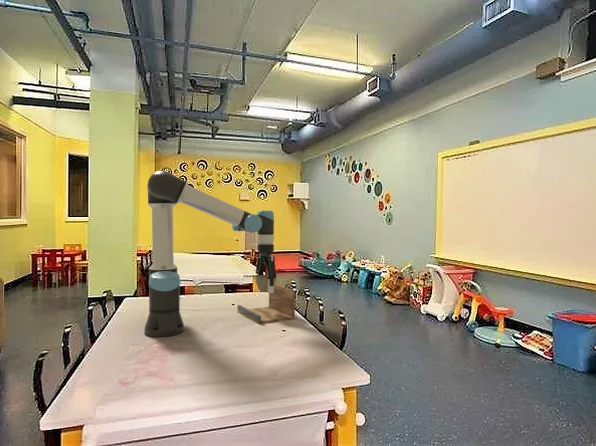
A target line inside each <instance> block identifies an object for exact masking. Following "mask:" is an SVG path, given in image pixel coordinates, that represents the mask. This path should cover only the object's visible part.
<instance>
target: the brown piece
mask: <svg viewBox="0 0 596 446" xmlns="http://www.w3.org/2000/svg"><path fill="white" fill-rule="evenodd" d="M295 299H296V290H294V289H291V288H288V287H285V286H282V285H278V284H277V283H275V285H274V293H268V306H264V307H256V308H255V307H254V308H246V307H245V306H243V305H241V304H238V305H237V313H238V314H239V313H240V314H239V315H241V314H242V316H244V317H245V318H247V319H249V320H250V321H252V322H254V323H256V324H257V325H261V324H269V323H275V322H276V323H277V322H283V321H290V320H295V317H296V316H295V315H296V313H295V312H296V311H295V308H296V307H295V306H296V304H295V303H296V302H295V301H296V300H295Z"/></svg>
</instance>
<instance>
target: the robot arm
mask: <svg viewBox="0 0 596 446" xmlns="http://www.w3.org/2000/svg"><path fill="white" fill-rule="evenodd" d="M146 187H147V189H146V190H147V205H148V206H149V207H150V208H151V234H152V236H151V237H152V240H151V241H152V246H151V247H152V264H151V265H150V266H149V267H148V289H149V290H148V293H149V294H148V297H149V299H148V301H149V302H148V303H149V305H148V310H149V312H148V316H147V319H146V320H145V321H146V323H145V324H144V325H145V326H144V335H146V336H148V337H154V338H155V337H158V338H159V337H160V338H161V337H171V336H176V335H179V334H180V335H181V333H183V332H184V331H185V323H184V321H183V318H182V314H181V312H180V308H181V307H180V306H181V301H180V300H181V299H180V298H181V296H180V295H181V294H180V292H181V290H180V289H181V279H180V275H179V273H178V266H177V265H176V264H175V262H174V261H175V260H174V207H175V206H177V204H180V203H181V204H184V205H186V206H188V207H191V208H193V209H195V210H198V211H199V212H203V213H205V214H207V215H209V216H211V217H214V218H216V219H218V220H221V221H223V222H226V223H228V224H230V225H231V228H232V230H233V232H234V231H235V232H249V233H250V234H253V233H257V243H258V244H257V252H258V254H256V255H257V256H256V258H257V259H256V266H255V274H256V276H258V275H265V274H264V272H265V269H266V272H267V275H268V278H267V279H268V292H267V294H269V293H274V278H276V279H277V270H276V262H275V261H276V260H275V259H276V257H275V256H274V255H272V253H274V251H275V245H274V242H275V241H274V239H275V234H274V233H275V215H274V211H272V210H258V211H257V214H253V213H250V212H248V211H245V210H244V209H242V208H240V207H237V206H235V205H233V204H230V203H228V202H226V201H223V200H221V199H220V198H217V197H215V196H213V195H210V194H208V193H206V192H204V191H202V190H200V189H197V188H196V187H193V186H191V185H189V183H188V181H186V180H184V179H182V178H180V177H178V176H177V175H174V174H173V173H171V172H169V171H166V170H158V171H155V172H154V173H152V174H151V175H150V176H149V178H148V180H147V186H146ZM257 290H258V291H259V289H258V288H257Z"/></svg>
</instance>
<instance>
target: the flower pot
mask: <svg viewBox="0 0 596 446" xmlns="http://www.w3.org/2000/svg"><path fill="white" fill-rule="evenodd" d="M267 278H268V274H264V275H255V276H254V279H255V284H256V286H257V287H256V288H257V290H258V289H259V290H258V291H259V292H260V293H268V279H267ZM276 281H277V277H276V278H274V285H275V284H276Z"/></svg>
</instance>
